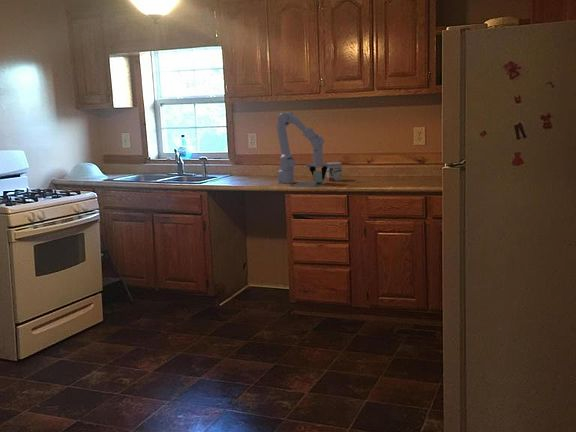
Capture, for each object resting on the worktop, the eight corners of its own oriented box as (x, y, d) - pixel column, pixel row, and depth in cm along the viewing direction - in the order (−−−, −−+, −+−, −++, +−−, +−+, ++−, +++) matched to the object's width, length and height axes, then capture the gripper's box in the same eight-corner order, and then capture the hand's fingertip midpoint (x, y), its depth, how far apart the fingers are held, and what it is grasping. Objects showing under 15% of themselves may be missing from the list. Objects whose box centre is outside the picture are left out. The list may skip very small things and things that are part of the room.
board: (288, 187, 389) (288, 186, 389) (300, 183, 408) (300, 182, 407) (317, 188, 383) (317, 186, 383) (327, 183, 401) (327, 182, 401)
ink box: (329, 182, 405) (328, 163, 403) (326, 181, 409) (326, 162, 407) (342, 181, 406) (341, 162, 404) (340, 180, 411) (339, 161, 409)
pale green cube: (313, 182, 396) (313, 171, 395) (316, 181, 401) (315, 170, 400) (321, 182, 394) (321, 171, 393) (324, 181, 399) (323, 170, 398)
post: (316, 183, 397) (316, 175, 396) (317, 182, 400) (317, 174, 399) (320, 183, 396) (320, 175, 395) (321, 182, 399) (321, 174, 398)
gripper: (304, 157, 394) (305, 180, 396) (327, 157, 389) (328, 180, 391) (308, 156, 400) (309, 178, 403) (331, 156, 395) (331, 178, 398)
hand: (318, 179), depth 397 cm, fingers closed on pale green cube, 5 cm apart
